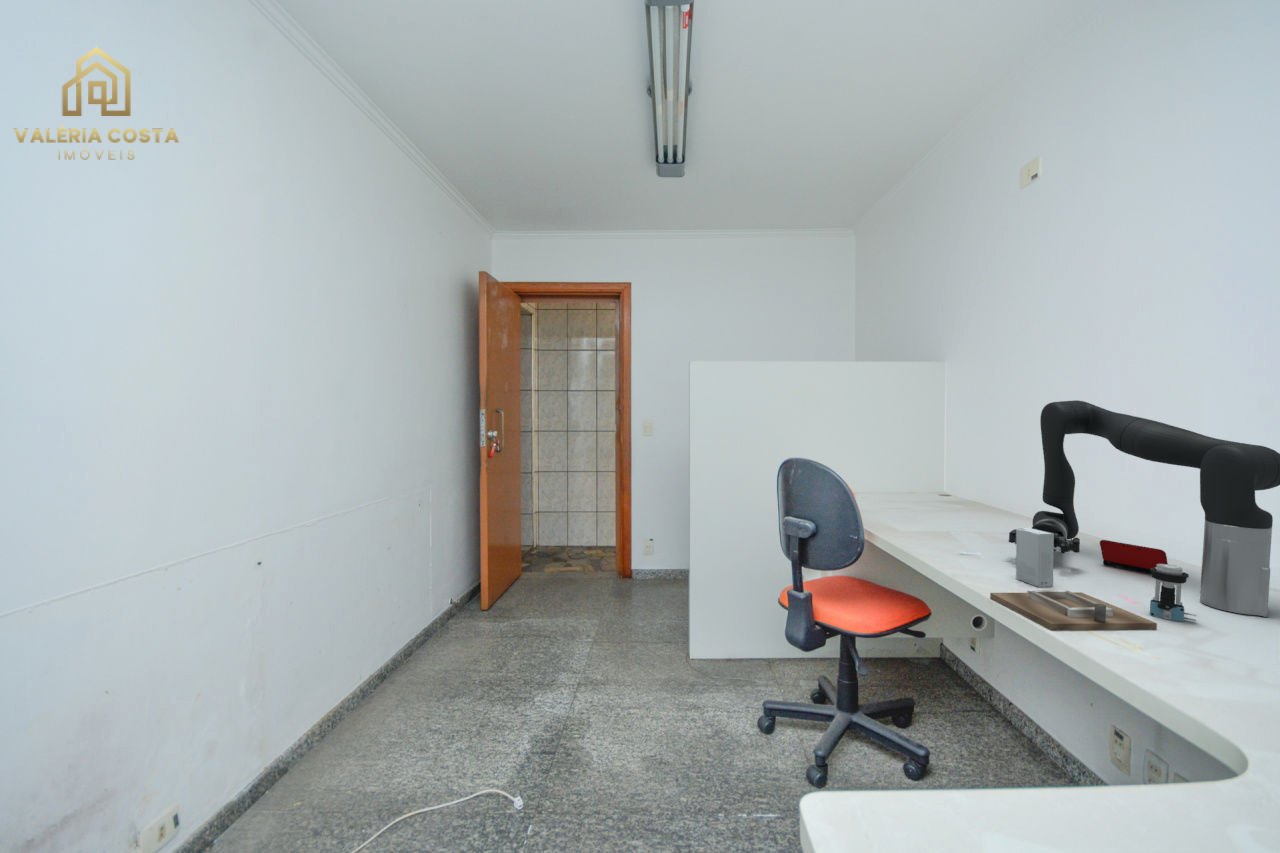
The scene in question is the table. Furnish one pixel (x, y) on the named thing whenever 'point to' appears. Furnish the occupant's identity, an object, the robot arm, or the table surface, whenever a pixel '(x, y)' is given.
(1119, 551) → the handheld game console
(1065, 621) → the keyed plate
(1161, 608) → the push button
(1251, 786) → the table surface
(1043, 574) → the skincare box
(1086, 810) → the table surface
